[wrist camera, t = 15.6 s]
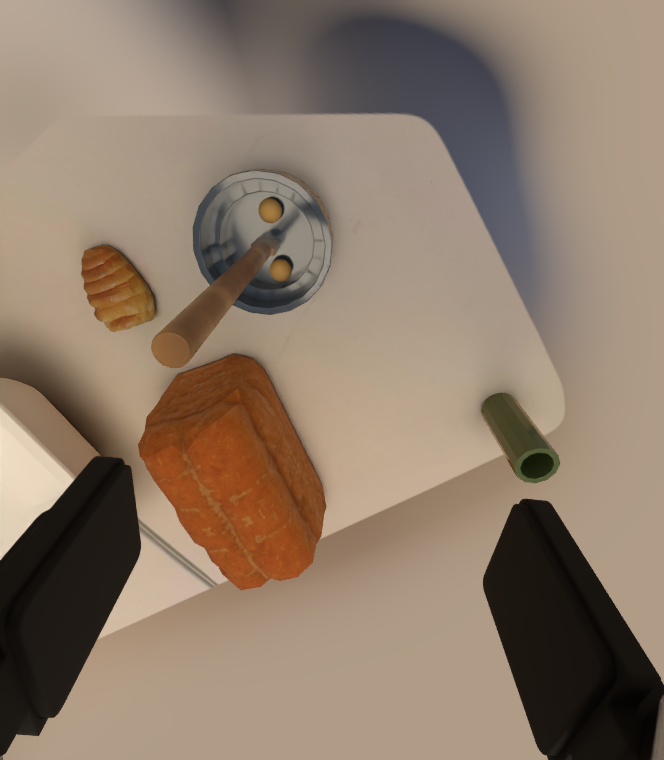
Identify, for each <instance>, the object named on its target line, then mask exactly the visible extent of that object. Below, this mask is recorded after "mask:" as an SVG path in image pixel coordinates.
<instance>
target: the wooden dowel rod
mask: <svg viewBox="0 0 664 760" xmlns="http://www.w3.org/2000/svg"><path fill="white" fill-rule="evenodd" d="M279 248H280V240H274V239H267V238H260V237H259V238H258V239H256V240H255V241H254V242H253V243H252V244H251V245H250V249H249V250H248V251H247V252H246V253H245V254H244V255H242V256H241V257H240V258H239V259H238V260H237V261H236V262H235V263H234V264H233V265H232V266H231V267H229V268H228V269H227V270H226V271H225V272H224V273H223V274H222V275H221V276H220V277H219V278H218V279H217V280H215V281H214V282H213V283H212V284H211V285H210V286H209V287H208V288H207V289H206V290H205V291H204V292H202V293H201V294H200V295H199V296H198V297H197V298H196V299H195V300H194V301H193V302H192V303H191V304H190V305H188V306H187V307H186V308H185V309H184V310H183V311H182V312H181V313H180V314H179V315H178V316H177V317H175V318H174V319H173V320H172V321H171V322H170V323H169V324H168V325H167V326H166V327H165V328H164V329H163V330H161V331H160V332H159V333H158V334H157V335H156V336H155V337H154V339H153V341H152V352H153V355H154V357H155V358H156V359H157V360H158V361H159V362H160V363H161V364H163V365H164V366H167V367H170V368H179V367H182V366H184V365H186V364H187V363H188V362H189V361H190V359H191V358H192V357H193V355H194V354H195V353H196V352H197V350H198V349H199V348H200V346H201V345H202V344H203V342H204V341H205V340H206V339H207V337H208V336H209V335H210V333H211V332H212V331H213V329H214V328H215V327H216V325H217V324H218V323H219V322H220V320H221V319H222V318H223V316H224V315H225V314H226V312H227V311H228V310H229V309H230V307H231V306H232V305H233V303H234V302H235V301H236V299H237V298H238V297H239V296H240V294H241V293H242V292H243V290H244V289H245V288H246V286H247V285H248V284H249V283H250V281H251V280H252V279H253V277H254V276H255V275H256V273H257V272H258V271H259V270H260V268H261V267H262V266H263V264H264V263H265V262H266V260H267V259H268V258H269V256H274V255H275V254H276V252H277V251H278V249H279Z"/></svg>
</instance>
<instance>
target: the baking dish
mask: <svg viewBox="0 0 664 760" xmlns="http://www.w3.org/2000/svg"><path fill="white" fill-rule="evenodd" d="M96 456H101V455H100V454H99V453H98V452H97V451H96V450H95V449H94V448H93V447H92V446H91V445H90V444H89V443H88V442H87V441H86V440H85V439H84V438H83V436H82V435H81V434H80V433H79V432H78V431H77V430H76V429H75V428H74V427H73V426H72V425H71V424H70V423H69V422H68V421H67V420H66V419H65V418H64V417H63V416H62V414H61V413H60V412H59V411H58V410H57V409H56V408H55V407H54V406H53V405H52V404H51V403H50V402H49V401H48V400H47V399H46V398H45V397H44V396H43V395H42V394H41V393H40V392H38V391H37V390H36V389H35V388H33V387H31V386H29V385H26V384H24V383H21V382H18V381H15V380H12V379H5V378H0V560H1V559H2V557H3V556H4V555H5V554H6V553H7V552H8V551H9V549H10V548H11V547H12V546H13V545H14V544H15V542H16V541H17V540H18V539H19V538H20V537H21V535H22V534H23V533H24V532H25V531H26V530H27V528H28V527H29V526H30V525H31V524H32V523H33V521H34V520H35V519H36V518H37V517H38V516H39V515H40V514H41V513H42V512H45V511H47V510H49V509H50V508H51V507H52V506H53V505H54V503H55V502H56V501H57V500H58V499H59V497H60V496H61V495H62V494H63V493H64V491H65V490H66V489H67V488H68V487H69V486H70V484H71V483H72V482H73V481H74V480H75V478H76V477H77V476H78V475H79V474H80V473H81V471H82V470H83V469H84V468H85V467H86V465H87V464H88V463H89V462H90V461H91V460H92V459H93V458H94V457H96Z"/></svg>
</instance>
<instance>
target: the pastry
mask: <svg viewBox="0 0 664 760" xmlns="http://www.w3.org/2000/svg"><path fill="white" fill-rule="evenodd" d="M81 274H82V277H83V278H84V281H85V283H84V289H85V290H86V292H87V294H88V295H87V299H88V301H89V303H90V305H91V306H92V307H94V308H95V312H94V314H95V316H96V318H97V319H98V320H100V321H102V322H104V323H105V325H106V327H107V328H108V329H109V330H110V331H114V332H115V331H120V330H125V329H129V328H131V327H133V326H137V325H139V324H142V323H144V322H148V321H151V320H153V319H154V317H155V307H154V299H153V296H152V294H151V292H150V289H149V288H148V286H147V285H146V284H145V282H144V280H143V279H142V278H141V276H140V275H139V274H138V272H137V271H136V270H135V269H134V268H133V266H132V265H131V264H130V262H129V261H128V260H127V259H126V258H125V257H124V256H123V255H122V254H121V253H119V252H118V251H117V250H115V249H114V248H112V247H110V246H107V245H101V246H97V247H94V248H91V249H87V250H85V251H84V255H83V258H82V272H81Z"/></svg>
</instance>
